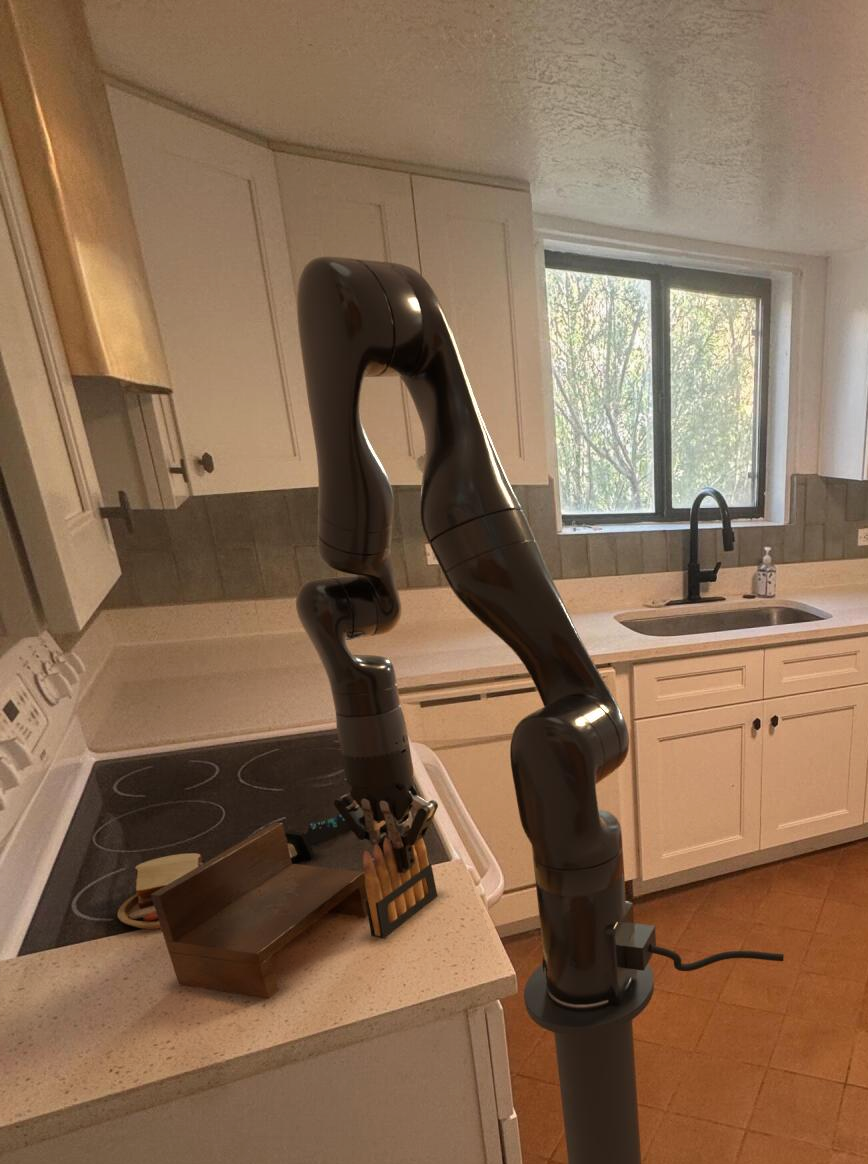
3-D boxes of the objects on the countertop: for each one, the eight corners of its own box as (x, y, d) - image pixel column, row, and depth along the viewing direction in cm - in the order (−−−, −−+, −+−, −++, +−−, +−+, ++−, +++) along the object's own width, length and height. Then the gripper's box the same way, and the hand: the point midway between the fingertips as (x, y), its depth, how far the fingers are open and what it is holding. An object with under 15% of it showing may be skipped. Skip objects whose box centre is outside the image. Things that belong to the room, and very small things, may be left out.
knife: (236, 893, 106) (232, 862, 104) (219, 889, 106) (215, 858, 105) (399, 819, 134) (398, 795, 133) (385, 817, 135) (383, 792, 133)
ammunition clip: (383, 939, 98) (366, 855, 94) (370, 936, 98) (353, 852, 94) (437, 895, 107) (425, 817, 103) (426, 893, 108) (413, 815, 104)
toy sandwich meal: (108, 942, 97) (97, 910, 95) (134, 890, 109) (124, 860, 107) (226, 918, 102) (217, 887, 100) (239, 871, 114) (231, 842, 112)
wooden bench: (372, 911, 104) (356, 830, 100) (268, 998, 87) (244, 906, 83) (293, 901, 106) (274, 822, 102) (178, 984, 90) (150, 894, 85)
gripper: (302, 750, 92) (330, 878, 98) (407, 758, 90) (428, 890, 96) (345, 729, 99) (369, 850, 105) (443, 736, 96) (461, 860, 103)
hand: (397, 868), depth 100 cm, fingers closed on ammunition clip, 2 cm apart
